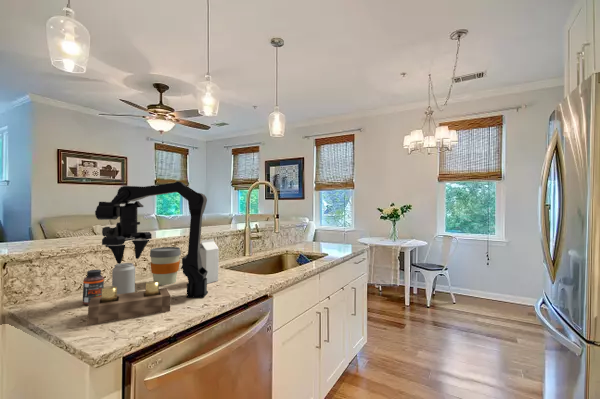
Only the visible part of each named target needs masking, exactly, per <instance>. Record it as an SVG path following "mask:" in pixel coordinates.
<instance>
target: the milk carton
mask: <svg viewBox="0 0 600 399" xmlns="http://www.w3.org/2000/svg"><path fill="white" fill-rule="evenodd" d="M219 249H220V248H219V247H218V245H217V243H216V242H215V238H212V239H210V238H209V239H203V240H201V239H200V255H201V261H202V267H203V268H205V269H206V270H207V271H208V272H207V275H206V277H205V278H207V285H208V284H212V283H215V282H217V281H219V262H220V260H219V258H220V257H219V253H220V250H219Z"/></svg>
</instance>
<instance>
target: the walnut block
mask: <svg viewBox="0 0 600 399" xmlns="http://www.w3.org/2000/svg"><path fill="white" fill-rule="evenodd" d="M170 311H171V294H170V292H169V290H168V289H167V287H162V288H159V295H156V296H149V297H145V290H140V291H135V292H132V293H124V294H117V301H114V302H107V303H102V297H94V298H91V300H90V303H89V305H87V326H91V325H97V324H103V323H107V322H113V321H119V320H125V319H126V320H127V319H131V318H136V317H141V316H147V315H149V316H150V315H152V314H153V315H154V314H158V313H166V312H170Z"/></svg>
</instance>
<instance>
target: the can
mask: <svg viewBox="0 0 600 399" xmlns="http://www.w3.org/2000/svg"><path fill="white" fill-rule="evenodd" d="M111 274H112V275H111V276H112V278H111V283H112V284H111V286H117V294H124V293H132V292H136V266H135V265H134V263H133V262H123V263H122V262H121V263H120V264H118V263H117V264H116V263H115V265H114V267H113V268H112V273H111Z"/></svg>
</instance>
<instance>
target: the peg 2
mask: <svg viewBox="0 0 600 399" xmlns="http://www.w3.org/2000/svg"><path fill="white" fill-rule="evenodd" d="M159 289H160V285H159V281H153V280H150V281H146V282H145V289H144V291H145V297H149V296H156V295H159Z"/></svg>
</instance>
